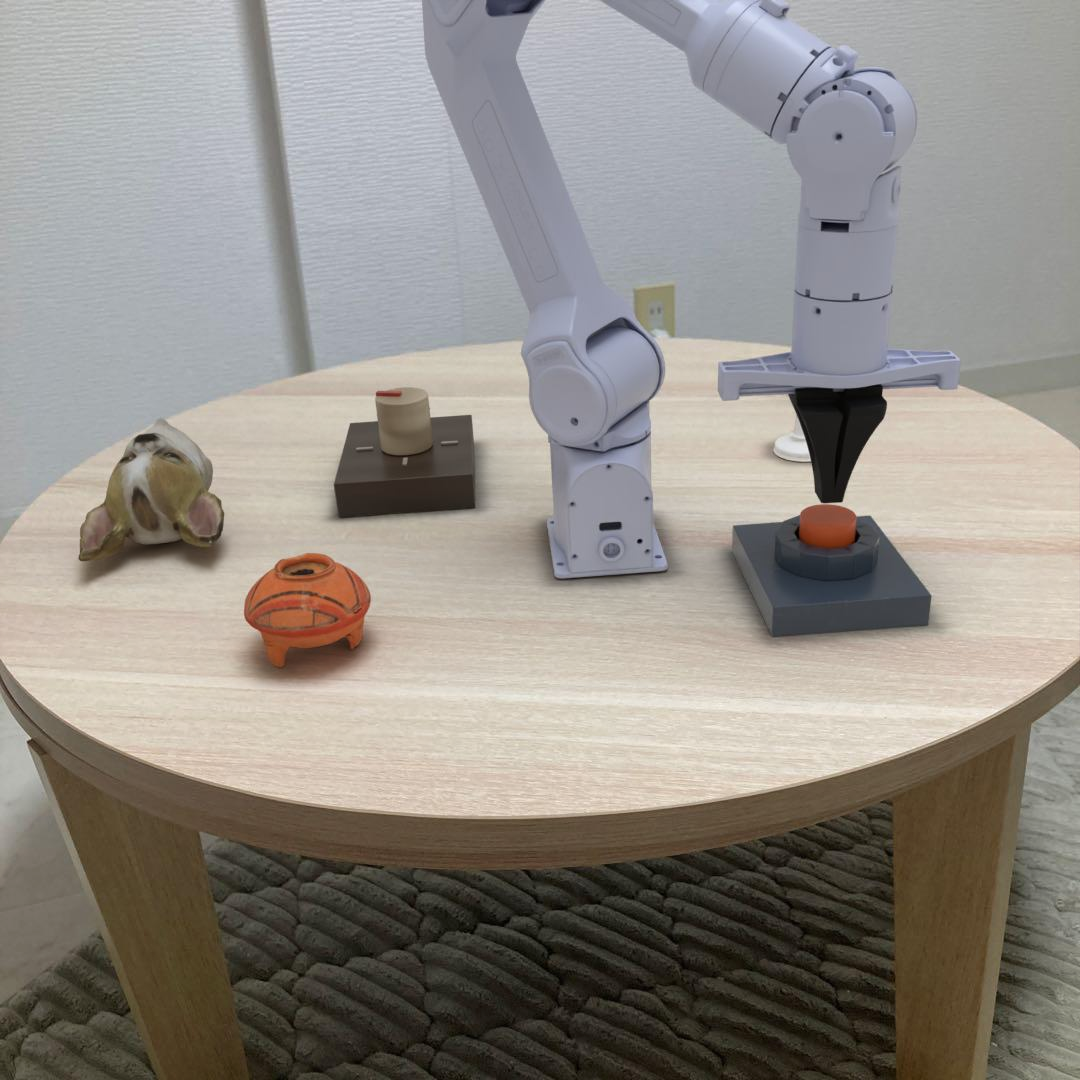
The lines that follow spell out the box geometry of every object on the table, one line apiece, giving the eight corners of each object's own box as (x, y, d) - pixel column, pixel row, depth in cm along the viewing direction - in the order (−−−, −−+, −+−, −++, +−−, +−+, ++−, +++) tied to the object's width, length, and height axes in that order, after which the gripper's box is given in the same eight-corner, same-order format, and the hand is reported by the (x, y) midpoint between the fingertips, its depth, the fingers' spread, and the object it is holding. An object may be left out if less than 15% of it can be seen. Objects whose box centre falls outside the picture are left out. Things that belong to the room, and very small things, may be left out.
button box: (928, 625, 72) (935, 569, 70) (771, 637, 72) (774, 581, 70) (868, 542, 83) (872, 492, 81) (731, 552, 82) (733, 502, 81)
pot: (229, 634, 75) (236, 537, 73) (345, 629, 78) (355, 537, 76) (253, 690, 68) (262, 585, 66) (379, 683, 71) (391, 583, 69)
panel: (475, 508, 92) (472, 471, 90) (338, 517, 91) (333, 481, 90) (474, 445, 104) (471, 412, 103) (353, 453, 104) (349, 421, 102)
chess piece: (827, 440, 101) (834, 330, 96) (835, 461, 96) (842, 347, 92) (771, 441, 101) (775, 331, 97) (776, 462, 97) (780, 348, 92)
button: (861, 549, 74) (863, 524, 73) (807, 553, 74) (808, 528, 73) (845, 525, 77) (847, 502, 76) (792, 529, 77) (794, 506, 76)
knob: (439, 437, 98) (434, 384, 96) (424, 456, 94) (418, 401, 92) (390, 436, 99) (384, 383, 97) (373, 455, 95) (367, 400, 93)
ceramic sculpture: (223, 392, 93) (204, 471, 80) (242, 487, 97) (227, 576, 84) (89, 406, 92) (48, 489, 79) (115, 501, 96) (80, 594, 83)
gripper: (942, 268, 72) (921, 467, 78) (712, 280, 72) (708, 478, 78) (982, 296, 65) (956, 510, 71) (730, 309, 65) (724, 522, 71)
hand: (828, 496), depth 74 cm, fingers closed
